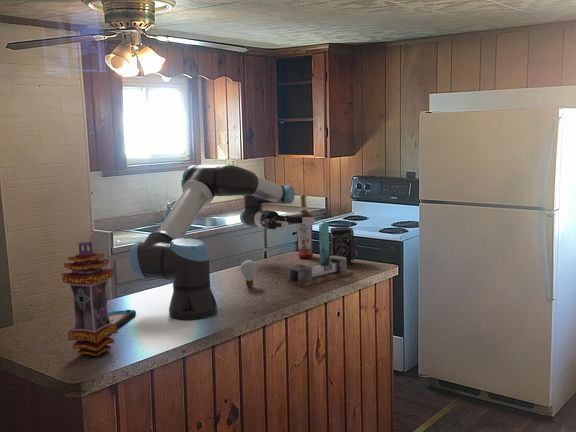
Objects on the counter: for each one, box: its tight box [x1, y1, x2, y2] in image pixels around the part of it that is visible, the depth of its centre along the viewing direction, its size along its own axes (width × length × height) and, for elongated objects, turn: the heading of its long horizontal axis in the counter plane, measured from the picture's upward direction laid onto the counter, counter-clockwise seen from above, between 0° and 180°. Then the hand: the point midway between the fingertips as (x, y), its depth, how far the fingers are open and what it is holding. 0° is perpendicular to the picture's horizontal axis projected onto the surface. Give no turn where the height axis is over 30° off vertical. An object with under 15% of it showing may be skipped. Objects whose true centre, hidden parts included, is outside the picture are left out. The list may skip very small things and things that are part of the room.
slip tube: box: [311, 221, 339, 277], centre depth 239 cm, size 18×4×19 cm, turn 130°
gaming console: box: [107, 309, 137, 329], centre depth 191 cm, size 24×3×10 cm
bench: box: [286, 255, 354, 288], centre depth 239 cm, size 26×9×7 cm, turn 130°
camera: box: [329, 226, 358, 266], centre depth 262 cm, size 10×10×15 cm
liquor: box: [295, 193, 314, 260], centre depth 277 cm, size 7×7×28 cm
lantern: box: [61, 241, 118, 357], centre depth 165 cm, size 10×9×30 cm
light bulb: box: [240, 259, 258, 288], centre depth 230 cm, size 6×6×10 cm
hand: (301, 223), depth 247 cm, fingers open, 13 cm apart
